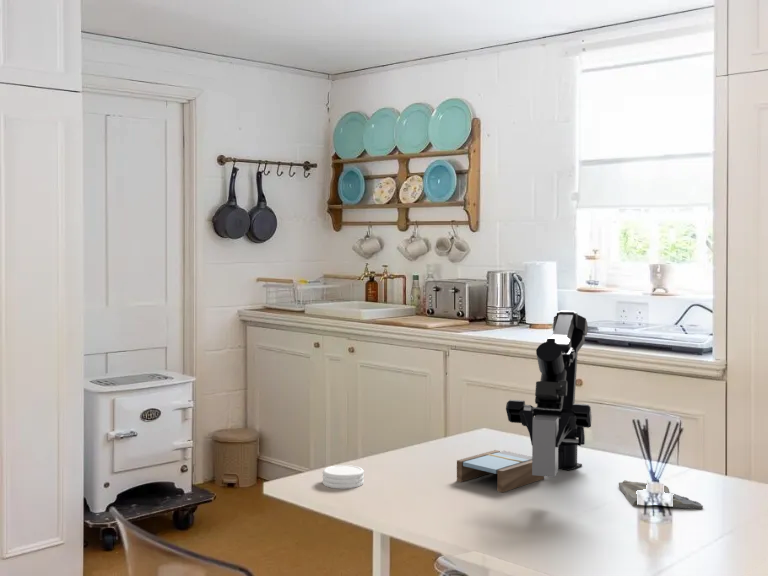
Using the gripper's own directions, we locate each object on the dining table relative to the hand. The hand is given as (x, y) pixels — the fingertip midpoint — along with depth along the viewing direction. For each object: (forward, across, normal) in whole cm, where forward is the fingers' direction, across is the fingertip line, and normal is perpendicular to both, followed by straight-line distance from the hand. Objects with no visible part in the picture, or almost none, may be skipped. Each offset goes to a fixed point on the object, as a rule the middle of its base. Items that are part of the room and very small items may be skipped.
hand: (544, 445), depth 199 cm
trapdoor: (-4, -13, +20) cm, 24 cm away
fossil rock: (0, +24, +20) cm, 31 cm away
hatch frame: (-3, -13, +22) cm, 25 cm away
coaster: (+8, -49, +12) cm, 51 cm away
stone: (+4, 0, +6) cm, 7 cm away
